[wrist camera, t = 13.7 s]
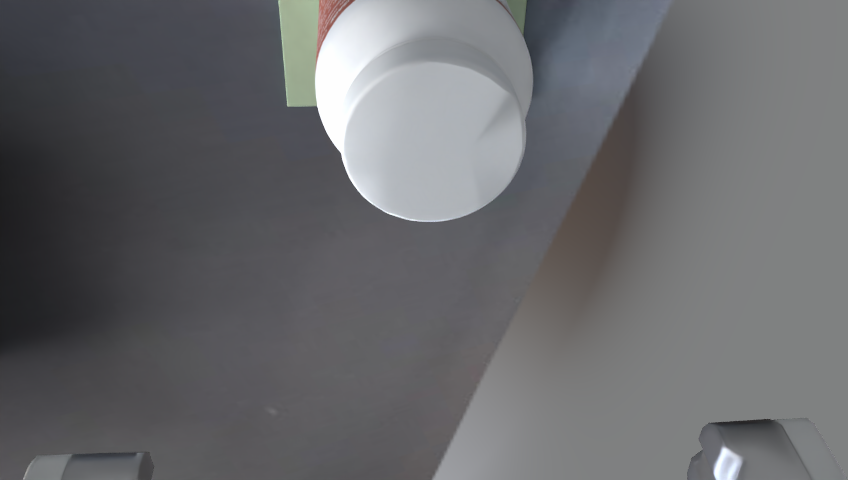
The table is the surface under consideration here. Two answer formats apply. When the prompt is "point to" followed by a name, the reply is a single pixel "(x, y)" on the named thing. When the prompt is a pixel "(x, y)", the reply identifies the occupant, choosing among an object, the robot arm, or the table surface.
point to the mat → (302, 46)
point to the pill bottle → (424, 100)
